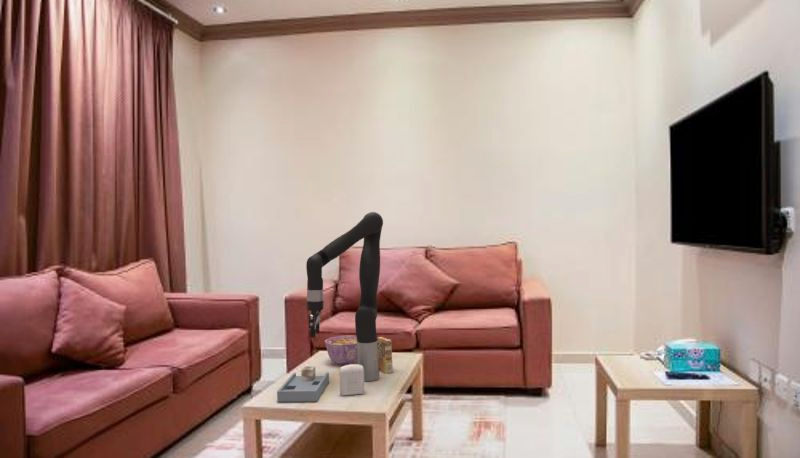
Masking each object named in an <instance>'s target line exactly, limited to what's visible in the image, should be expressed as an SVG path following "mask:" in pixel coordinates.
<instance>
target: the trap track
mask: <svg viewBox="0 0 800 458" xmlns="http://www.w3.org/2000/svg"><path fill="white" fill-rule="evenodd" d="M329 383H330V373H329V372H326V373H325V374H324V375H316V378H315V379H314V380H313V381H302V376H301V375H297V372H293V373H292V374H291V375H290V376H289V377H288V378H287V380H286V381H285V382H284V383H283V384H282V385H281V386H280V387H279V388H278V390H277V391H276V396H277V400H276V401H277V403H317V402H318V401H319V399H320V398H321V396H322V394H323V393H324V392H325V390H326V388H327V387H328V385H329Z"/></svg>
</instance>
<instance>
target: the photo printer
mask: <svg viewBox="0 0 800 458" xmlns="http://www.w3.org/2000/svg"><path fill="white" fill-rule="evenodd" d="M364 394H365V381H364V369H363V366H362V365H358V363H353V364H349V365H342V366H340V370H339V395H340V396H341V397H343V396H354V395H355V396H356V395H364Z"/></svg>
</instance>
